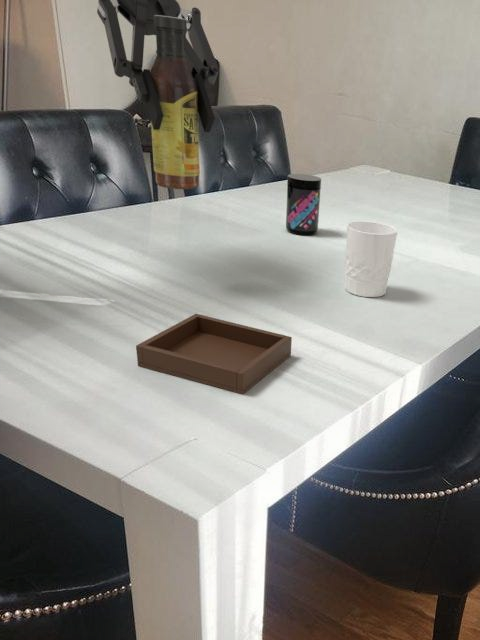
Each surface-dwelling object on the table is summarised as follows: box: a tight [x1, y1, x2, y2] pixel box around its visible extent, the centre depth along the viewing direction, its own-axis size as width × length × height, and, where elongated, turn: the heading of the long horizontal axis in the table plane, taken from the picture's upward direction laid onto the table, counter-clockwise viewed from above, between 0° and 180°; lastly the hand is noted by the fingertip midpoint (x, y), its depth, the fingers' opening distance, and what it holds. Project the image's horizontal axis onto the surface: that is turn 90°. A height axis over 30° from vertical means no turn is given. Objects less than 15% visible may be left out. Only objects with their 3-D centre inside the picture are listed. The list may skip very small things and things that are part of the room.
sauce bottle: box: [150, 15, 201, 190], centre depth 87 cm, size 7×6×20 cm
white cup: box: [344, 220, 398, 298], centre depth 104 cm, size 8×8×10 cm
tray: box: [135, 313, 293, 395], centre depth 77 cm, size 14×13×2 cm
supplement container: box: [285, 173, 322, 236], centre depth 131 cm, size 7×7×10 cm
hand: (184, 123), depth 85 cm, fingers closed on sauce bottle, 6 cm apart
